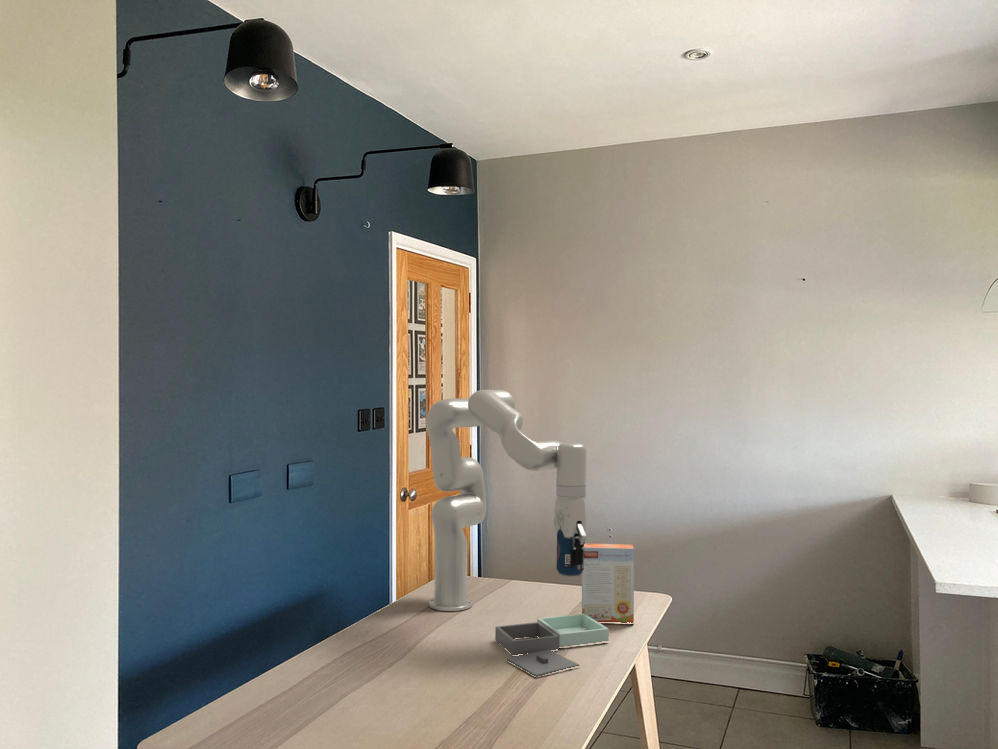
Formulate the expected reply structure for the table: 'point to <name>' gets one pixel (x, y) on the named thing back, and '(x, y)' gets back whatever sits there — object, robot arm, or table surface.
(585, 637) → the bin
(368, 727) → the table surface
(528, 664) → the lid
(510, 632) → the bin
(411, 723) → the table surface
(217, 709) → the table surface
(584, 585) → the cracker box
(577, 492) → the robot arm
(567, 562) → the soda can
